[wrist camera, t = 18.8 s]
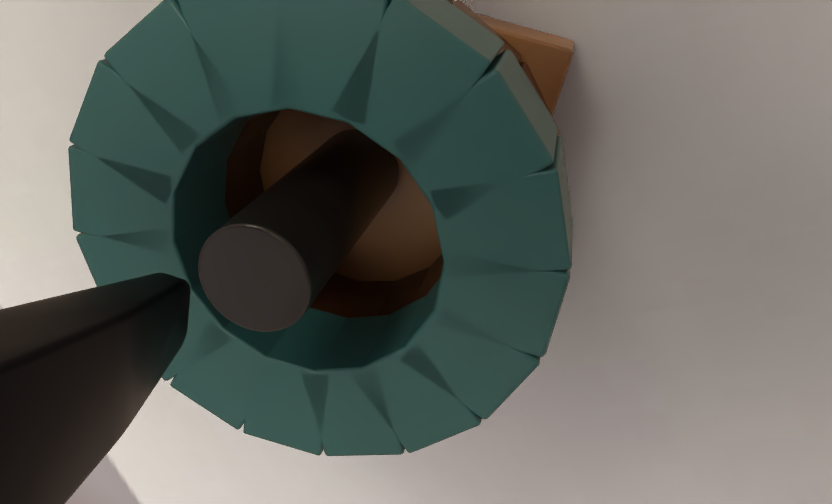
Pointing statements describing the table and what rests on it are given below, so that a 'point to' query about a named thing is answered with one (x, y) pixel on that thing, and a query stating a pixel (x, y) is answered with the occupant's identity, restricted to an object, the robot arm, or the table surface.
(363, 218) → the peg stand
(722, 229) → the table surface
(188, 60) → the teal ring
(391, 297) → the walnut ring
